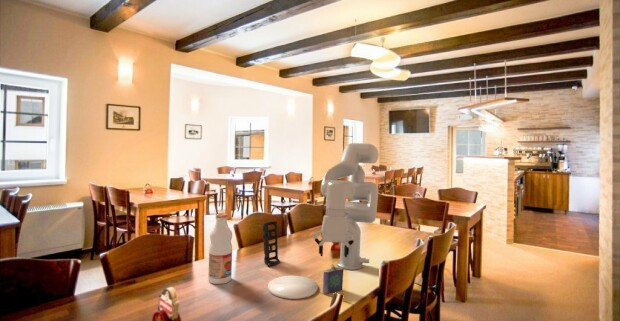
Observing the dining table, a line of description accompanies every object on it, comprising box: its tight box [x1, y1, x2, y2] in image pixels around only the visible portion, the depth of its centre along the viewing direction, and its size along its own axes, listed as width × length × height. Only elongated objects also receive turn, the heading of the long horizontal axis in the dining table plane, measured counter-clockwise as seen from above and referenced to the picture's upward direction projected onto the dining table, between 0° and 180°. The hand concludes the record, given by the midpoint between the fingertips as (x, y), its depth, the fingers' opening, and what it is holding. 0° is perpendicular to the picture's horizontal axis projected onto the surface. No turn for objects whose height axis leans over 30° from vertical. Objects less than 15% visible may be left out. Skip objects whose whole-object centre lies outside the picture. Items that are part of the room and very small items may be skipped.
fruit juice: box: [208, 212, 233, 285], centre depth 138 cm, size 9×9×28 cm
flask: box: [322, 264, 345, 295], centre depth 131 cm, size 9×3×11 cm, turn 121°
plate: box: [267, 275, 318, 300], centre depth 133 cm, size 20×20×1 cm
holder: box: [262, 221, 281, 268], centre depth 160 cm, size 11×8×20 cm
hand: (333, 255), depth 130 cm, fingers open, 9 cm apart
